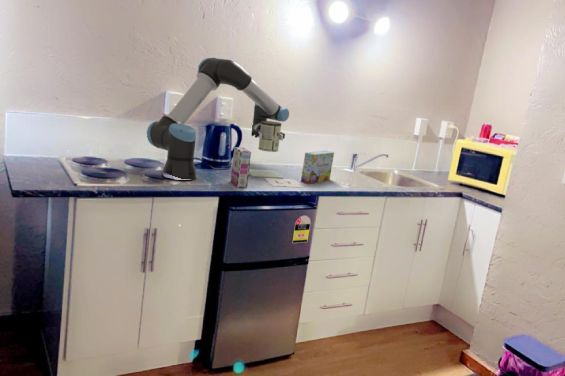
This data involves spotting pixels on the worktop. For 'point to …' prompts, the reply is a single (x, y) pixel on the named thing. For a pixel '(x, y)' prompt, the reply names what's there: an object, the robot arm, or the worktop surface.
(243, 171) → the candy bar box
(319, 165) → the snack box
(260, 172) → the sage board
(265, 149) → the coffee can
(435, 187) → the worktop surface
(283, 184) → the tile
